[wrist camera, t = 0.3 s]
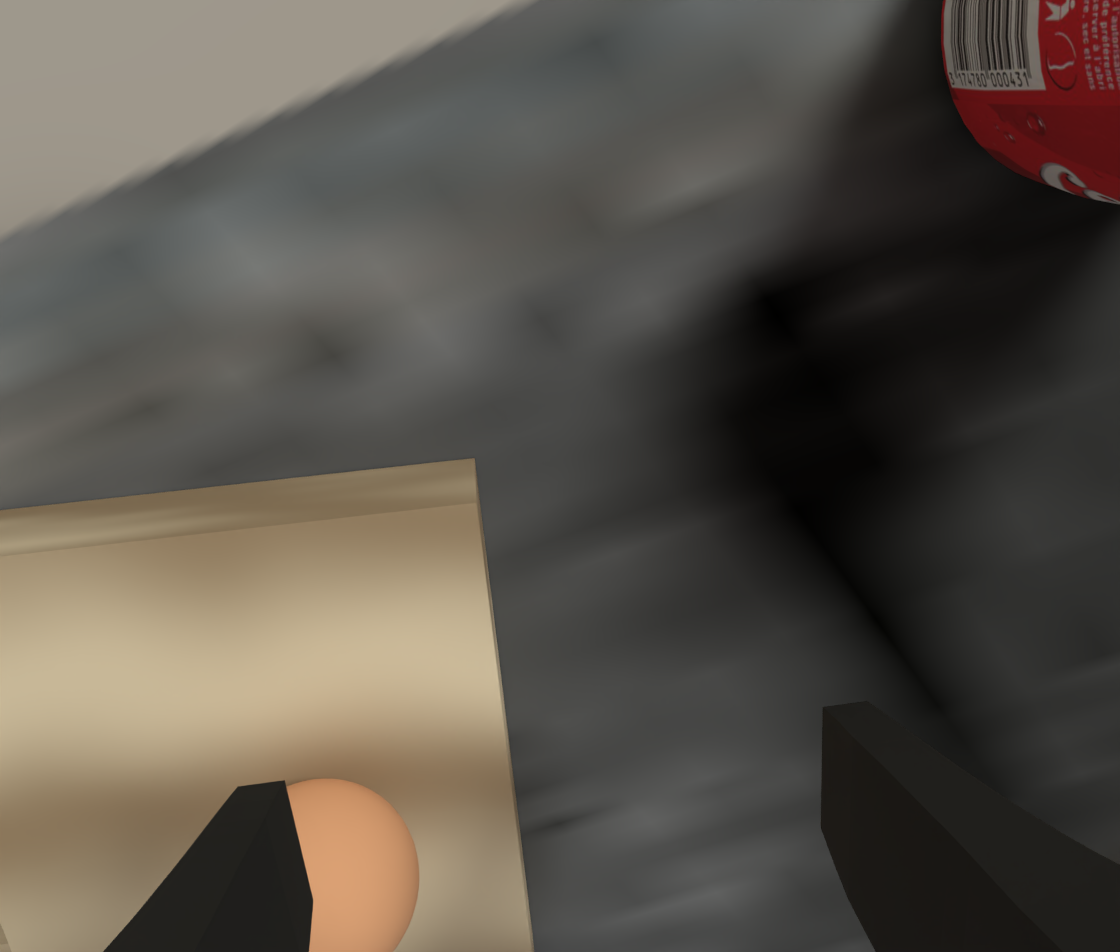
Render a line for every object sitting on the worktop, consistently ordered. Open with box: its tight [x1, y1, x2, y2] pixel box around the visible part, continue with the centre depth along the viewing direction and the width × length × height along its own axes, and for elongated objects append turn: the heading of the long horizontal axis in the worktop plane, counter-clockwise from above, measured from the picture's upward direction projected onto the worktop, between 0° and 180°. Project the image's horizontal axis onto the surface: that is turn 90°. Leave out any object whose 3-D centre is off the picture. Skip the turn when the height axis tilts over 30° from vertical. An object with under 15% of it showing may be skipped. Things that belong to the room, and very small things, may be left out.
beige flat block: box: [0, 458, 534, 952], centre depth 22 cm, size 14×20×2 cm
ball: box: [286, 778, 419, 952], centre depth 19 cm, size 4×4×4 cm
